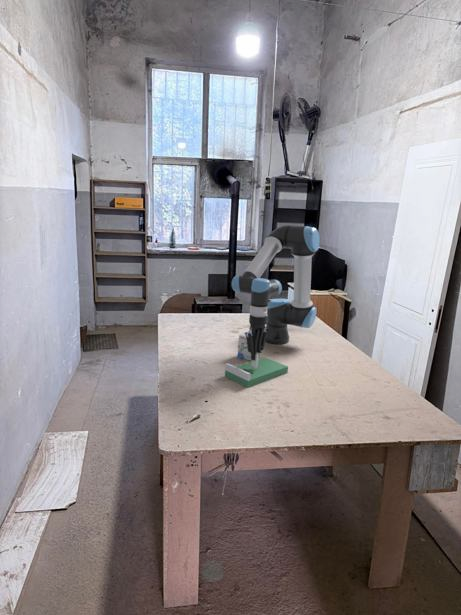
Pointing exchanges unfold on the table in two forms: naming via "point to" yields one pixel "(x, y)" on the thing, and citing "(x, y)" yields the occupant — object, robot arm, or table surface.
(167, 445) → the table surface
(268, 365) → the putting deck
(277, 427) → the table surface
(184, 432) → the table surface
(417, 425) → the table surface
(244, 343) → the ink box
